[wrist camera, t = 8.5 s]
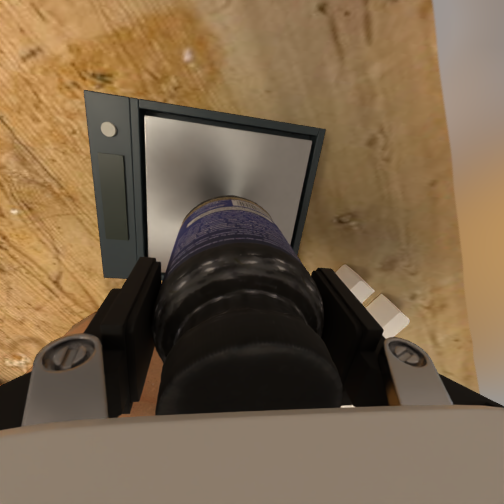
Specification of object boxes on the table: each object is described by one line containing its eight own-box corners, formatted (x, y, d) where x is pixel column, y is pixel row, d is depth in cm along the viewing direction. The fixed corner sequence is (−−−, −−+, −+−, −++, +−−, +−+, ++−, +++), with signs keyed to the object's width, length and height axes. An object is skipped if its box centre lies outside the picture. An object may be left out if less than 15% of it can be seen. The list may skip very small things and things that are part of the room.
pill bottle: (157, 228, 15) (50, 407, 5) (245, 172, 15) (312, 258, 5) (215, 299, 18) (217, 508, 8) (293, 254, 17) (400, 422, 7)
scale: (114, 263, 27) (102, 279, 24) (100, 95, 21) (81, 89, 18) (283, 272, 30) (291, 288, 27) (313, 129, 24) (327, 129, 21)
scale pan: (150, 267, 25) (148, 271, 24) (146, 115, 20) (143, 115, 19) (281, 275, 27) (283, 279, 26) (309, 140, 22) (312, 140, 21)
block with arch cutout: (298, 386, 38) (328, 475, 28) (247, 360, 35) (261, 452, 25) (392, 302, 34) (466, 373, 24) (344, 263, 30) (408, 327, 20)
